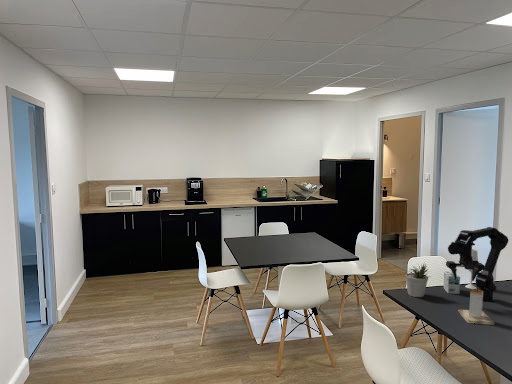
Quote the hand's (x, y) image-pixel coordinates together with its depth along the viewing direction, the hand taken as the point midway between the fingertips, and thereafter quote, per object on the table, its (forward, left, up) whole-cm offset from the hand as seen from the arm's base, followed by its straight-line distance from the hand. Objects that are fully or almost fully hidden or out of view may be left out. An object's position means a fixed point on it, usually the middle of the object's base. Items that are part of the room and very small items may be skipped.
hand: (464, 280), depth 220 cm
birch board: (+1, +22, -13) cm, 26 cm away
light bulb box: (0, -20, -13) cm, 24 cm away
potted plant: (+23, -8, -13) cm, 28 cm away
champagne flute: (-15, -30, -13) cm, 36 cm away
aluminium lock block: (+2, +23, -12) cm, 26 cm away
